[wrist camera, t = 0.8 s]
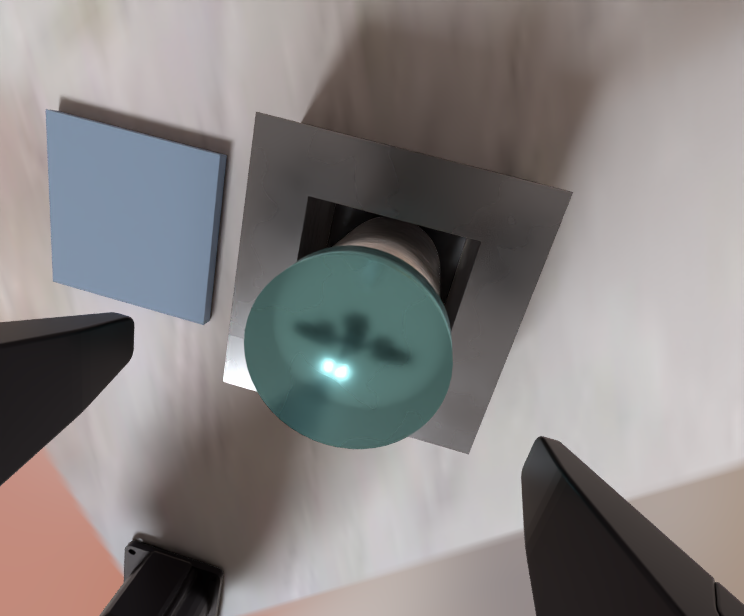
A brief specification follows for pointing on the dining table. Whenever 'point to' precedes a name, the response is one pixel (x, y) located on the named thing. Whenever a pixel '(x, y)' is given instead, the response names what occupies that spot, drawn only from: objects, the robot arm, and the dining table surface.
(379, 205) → the housing
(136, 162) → the mat
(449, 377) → the green lidded jar
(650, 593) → the robot arm
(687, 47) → the dining table surface
